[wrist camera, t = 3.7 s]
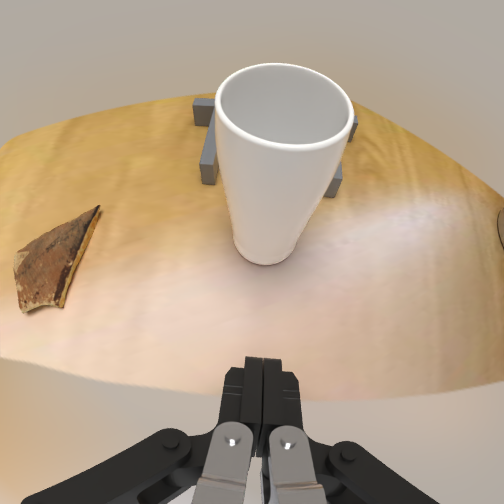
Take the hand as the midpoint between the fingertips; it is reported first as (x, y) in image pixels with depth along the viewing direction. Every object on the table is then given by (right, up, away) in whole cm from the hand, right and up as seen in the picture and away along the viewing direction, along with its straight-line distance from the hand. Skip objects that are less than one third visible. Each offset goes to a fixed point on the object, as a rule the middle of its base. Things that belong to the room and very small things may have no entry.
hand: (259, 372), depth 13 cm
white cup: (+1, +6, +15) cm, 16 cm away
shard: (-20, +4, +14) cm, 24 cm away
